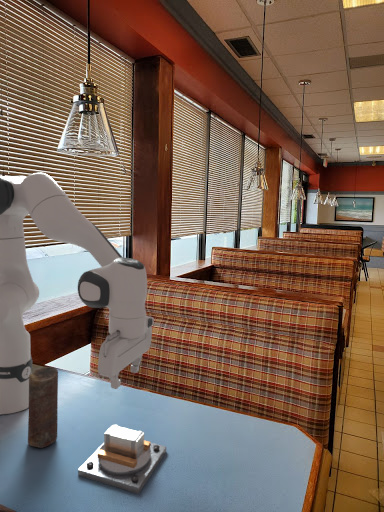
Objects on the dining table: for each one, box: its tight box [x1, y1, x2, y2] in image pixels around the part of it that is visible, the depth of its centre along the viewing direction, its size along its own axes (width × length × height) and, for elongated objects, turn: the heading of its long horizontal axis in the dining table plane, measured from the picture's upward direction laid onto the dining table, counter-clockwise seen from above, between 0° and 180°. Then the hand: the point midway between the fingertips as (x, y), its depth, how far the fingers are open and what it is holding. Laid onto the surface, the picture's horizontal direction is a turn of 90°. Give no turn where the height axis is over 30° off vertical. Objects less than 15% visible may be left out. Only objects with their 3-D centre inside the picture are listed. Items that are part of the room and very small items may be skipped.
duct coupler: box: [103, 424, 145, 460], centre depth 95 cm, size 4×9×5 cm, turn 71°
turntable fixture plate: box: [77, 439, 167, 495], centre depth 95 cm, size 16×16×4 cm
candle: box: [27, 366, 59, 449], centre depth 101 cm, size 8×7×20 cm
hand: (125, 379), depth 94 cm, fingers open, 8 cm apart
